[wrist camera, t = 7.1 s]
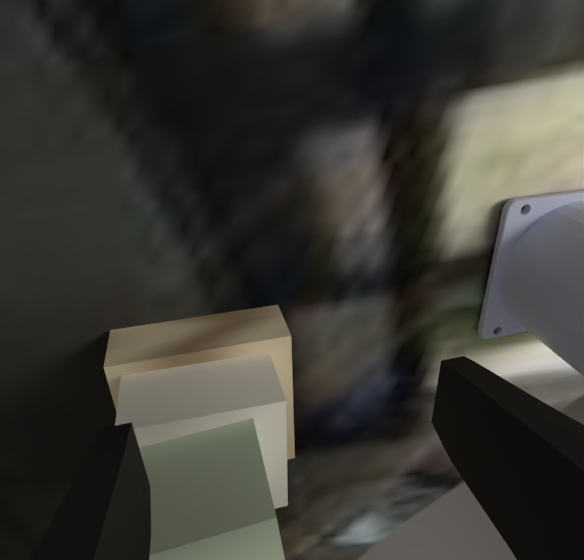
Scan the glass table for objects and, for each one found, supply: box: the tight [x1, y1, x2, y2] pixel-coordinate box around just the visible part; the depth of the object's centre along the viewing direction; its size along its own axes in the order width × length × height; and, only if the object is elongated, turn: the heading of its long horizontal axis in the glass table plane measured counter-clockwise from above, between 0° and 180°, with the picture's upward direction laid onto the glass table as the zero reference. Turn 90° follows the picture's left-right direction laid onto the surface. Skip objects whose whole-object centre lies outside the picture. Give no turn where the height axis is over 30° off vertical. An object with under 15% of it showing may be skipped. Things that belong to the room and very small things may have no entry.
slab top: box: [115, 352, 288, 509], centre depth 19 cm, size 6×6×3 cm
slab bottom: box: [104, 305, 295, 460], centre depth 21 cm, size 8×8×3 cm
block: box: [141, 418, 285, 560], centre depth 16 cm, size 4×4×4 cm
